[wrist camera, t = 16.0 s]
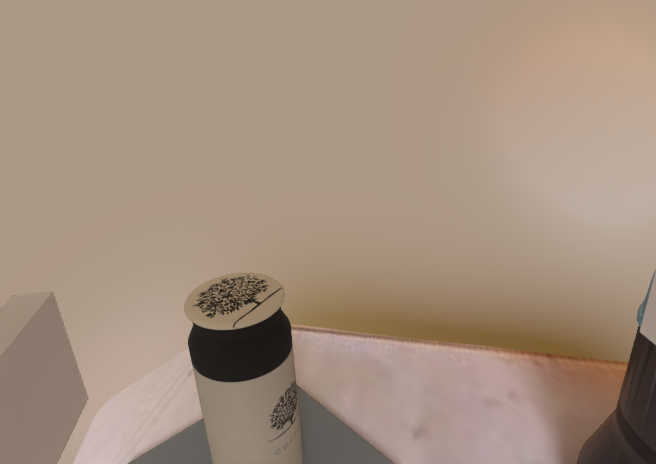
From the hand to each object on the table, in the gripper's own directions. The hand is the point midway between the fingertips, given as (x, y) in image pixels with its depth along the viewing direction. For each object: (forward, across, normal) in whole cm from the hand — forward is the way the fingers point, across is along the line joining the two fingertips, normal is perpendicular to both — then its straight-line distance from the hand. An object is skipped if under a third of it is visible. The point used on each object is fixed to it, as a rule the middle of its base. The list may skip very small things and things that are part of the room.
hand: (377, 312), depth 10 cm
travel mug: (+23, -6, -31) cm, 39 cm away
